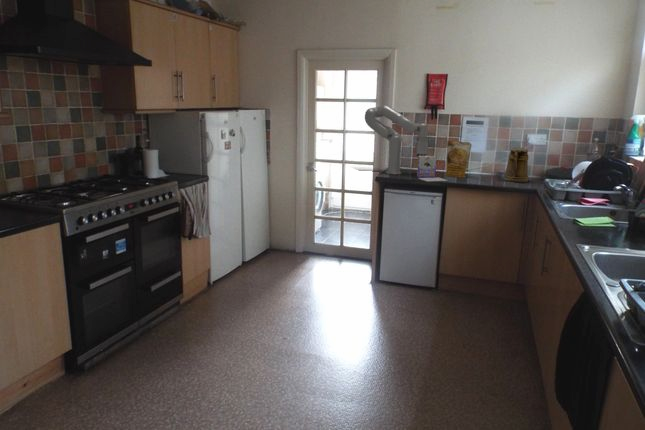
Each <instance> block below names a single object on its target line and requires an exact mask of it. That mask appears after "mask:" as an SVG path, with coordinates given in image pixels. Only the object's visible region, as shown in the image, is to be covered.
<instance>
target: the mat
mask: <svg viewBox="0 0 645 430" xmlns="http://www.w3.org/2000/svg"><path fill="white" fill-rule="evenodd" d="M417 178H418V180H421V181H423V182H429V183H430V182H431V183H432V182H448V181H449V180H448V179H446V178H443V177H442V178H441V177H417Z"/></svg>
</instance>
